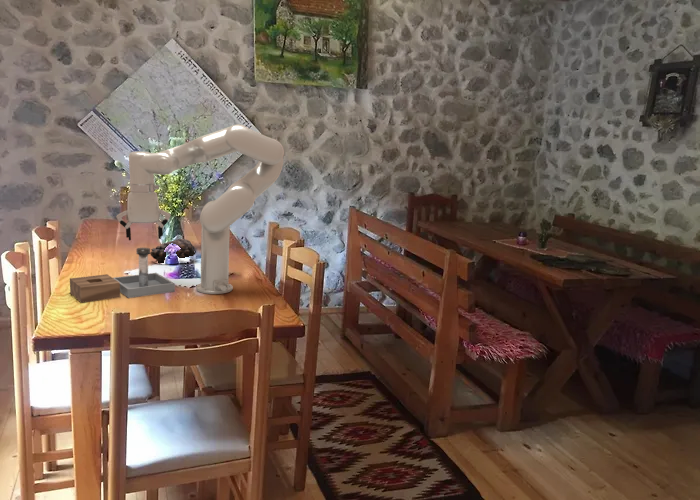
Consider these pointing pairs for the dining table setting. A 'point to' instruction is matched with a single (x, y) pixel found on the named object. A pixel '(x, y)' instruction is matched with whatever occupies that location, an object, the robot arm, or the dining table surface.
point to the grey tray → (155, 286)
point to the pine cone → (185, 251)
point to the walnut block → (94, 288)
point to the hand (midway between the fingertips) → (144, 239)
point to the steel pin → (143, 266)
